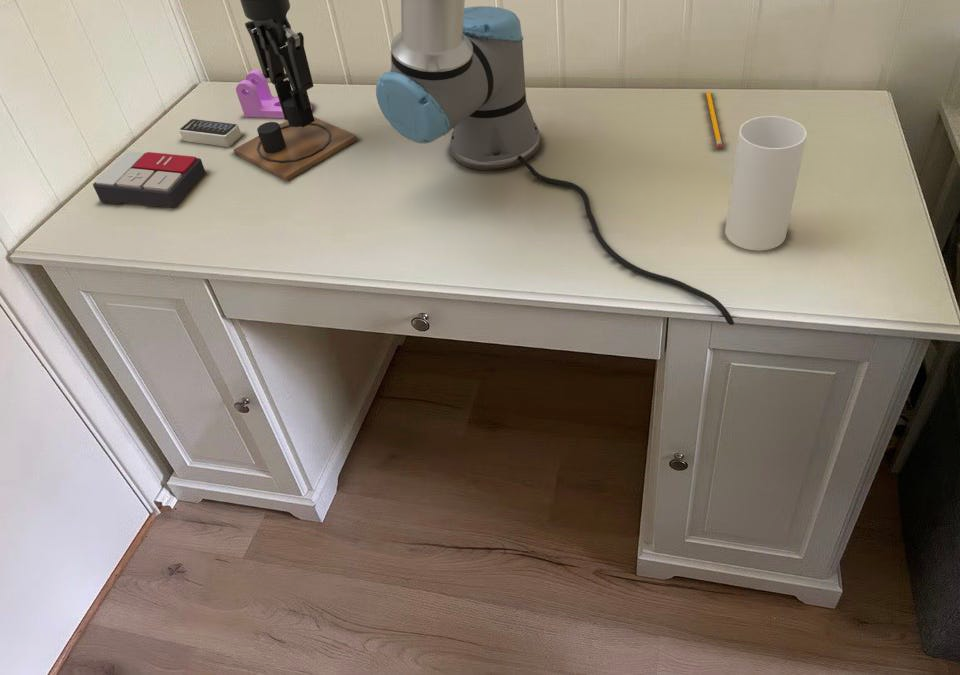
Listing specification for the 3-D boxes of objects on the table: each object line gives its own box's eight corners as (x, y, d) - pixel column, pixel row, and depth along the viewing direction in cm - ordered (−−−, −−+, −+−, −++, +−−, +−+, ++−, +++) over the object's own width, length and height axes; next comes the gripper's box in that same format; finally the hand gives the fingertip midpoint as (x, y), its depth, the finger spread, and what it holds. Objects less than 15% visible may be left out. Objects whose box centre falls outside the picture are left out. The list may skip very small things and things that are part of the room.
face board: (357, 140, 142) (355, 134, 141) (287, 181, 134) (285, 175, 133) (303, 116, 151) (301, 110, 150) (234, 154, 143) (232, 148, 142)
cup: (749, 257, 108) (767, 155, 96) (713, 227, 113) (725, 127, 102) (798, 238, 109) (821, 136, 98) (760, 209, 115) (778, 109, 104)
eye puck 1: (290, 145, 141) (284, 125, 138) (272, 155, 139) (265, 135, 136) (277, 139, 143) (270, 119, 140) (259, 149, 141) (252, 129, 138)
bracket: (244, 116, 153) (233, 83, 148) (257, 102, 157) (246, 69, 152) (305, 118, 150) (295, 84, 145) (316, 104, 154) (307, 70, 149)
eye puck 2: (315, 119, 142) (309, 99, 140) (297, 129, 140) (291, 108, 138) (301, 114, 144) (296, 93, 142) (284, 123, 143) (278, 103, 140)
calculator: (167, 189, 129) (89, 181, 132) (176, 211, 132) (99, 202, 135) (200, 154, 137) (125, 146, 140) (207, 175, 140) (134, 167, 143)
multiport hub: (229, 147, 145) (225, 136, 143) (182, 140, 149) (177, 129, 147) (242, 135, 148) (238, 123, 146) (196, 129, 151) (191, 118, 150)
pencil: (717, 149, 128) (717, 145, 127) (705, 95, 140) (706, 91, 140) (722, 149, 127) (722, 145, 127) (710, 94, 140) (710, 91, 140)
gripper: (312, -11, 123) (345, 123, 139) (250, -29, 133) (288, 99, 149) (273, 6, 120) (312, 142, 136) (212, -13, 129) (255, 116, 145)
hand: (299, 119), depth 142 cm, fingers closed on eye puck 2, 4 cm apart
